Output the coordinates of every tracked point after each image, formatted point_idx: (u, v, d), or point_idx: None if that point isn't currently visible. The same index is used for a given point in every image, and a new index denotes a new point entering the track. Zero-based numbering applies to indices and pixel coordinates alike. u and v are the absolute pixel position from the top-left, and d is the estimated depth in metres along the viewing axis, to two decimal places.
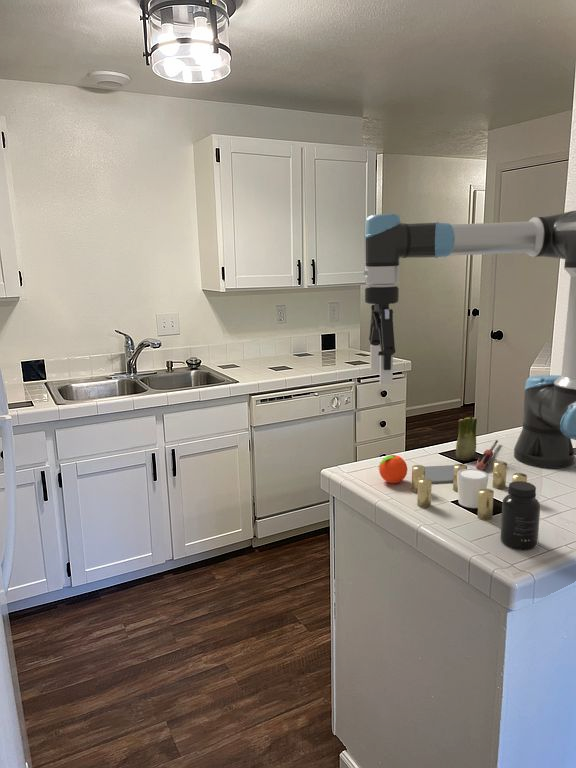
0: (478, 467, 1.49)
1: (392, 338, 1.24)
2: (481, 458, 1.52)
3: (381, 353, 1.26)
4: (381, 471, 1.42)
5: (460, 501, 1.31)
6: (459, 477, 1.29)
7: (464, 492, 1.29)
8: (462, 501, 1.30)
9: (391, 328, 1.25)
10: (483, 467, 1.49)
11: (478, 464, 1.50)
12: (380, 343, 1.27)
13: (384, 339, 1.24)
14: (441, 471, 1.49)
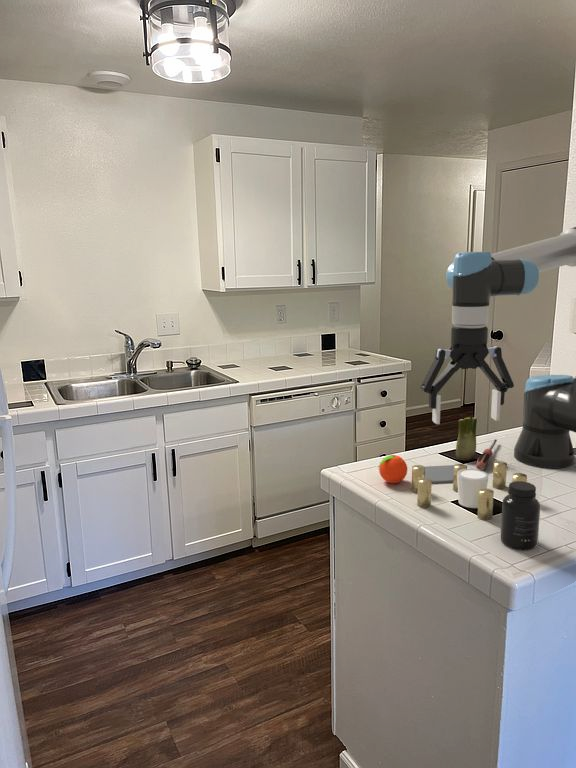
0: (478, 466, 1.49)
1: (429, 377, 1.24)
2: (481, 457, 1.52)
3: None
4: (381, 471, 1.42)
5: (460, 501, 1.31)
6: (459, 477, 1.29)
7: (464, 492, 1.29)
8: (462, 501, 1.30)
9: (434, 368, 1.24)
10: (483, 466, 1.49)
11: (478, 463, 1.50)
12: None
13: (426, 376, 1.26)
14: (441, 471, 1.49)
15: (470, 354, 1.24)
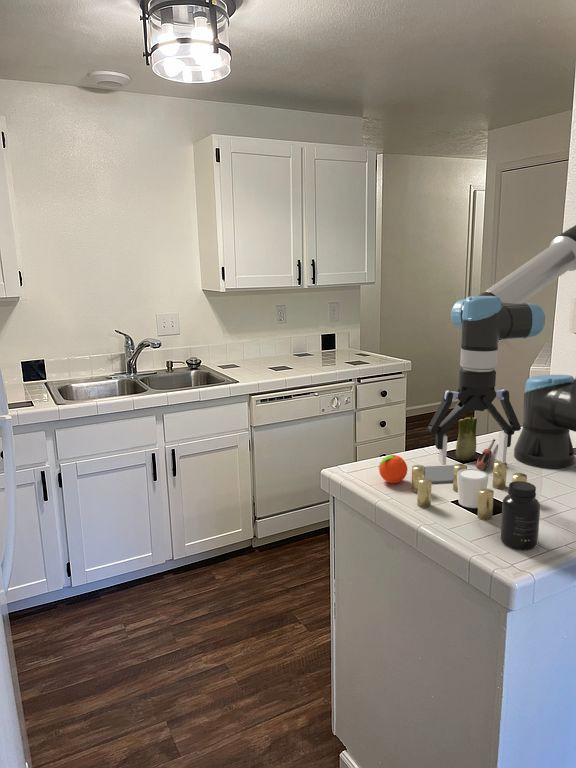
0: (478, 466, 1.49)
1: (436, 418, 1.25)
2: (481, 457, 1.52)
3: None
4: (381, 471, 1.42)
5: (460, 501, 1.31)
6: (459, 477, 1.29)
7: (464, 492, 1.29)
8: (462, 501, 1.30)
9: (441, 409, 1.25)
10: (483, 466, 1.49)
11: (478, 463, 1.50)
12: None
13: (433, 417, 1.27)
14: (441, 471, 1.49)
15: (478, 397, 1.25)
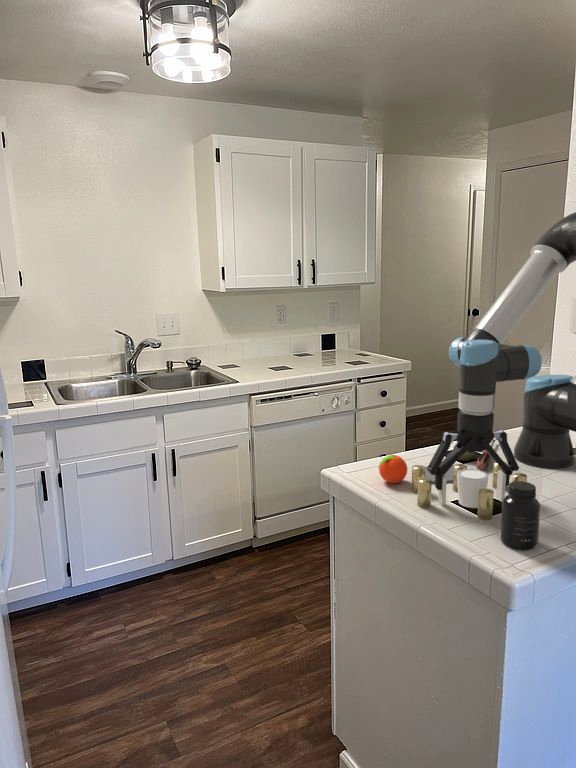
0: (478, 467, 1.49)
1: (435, 460, 1.28)
2: (481, 458, 1.52)
3: None
4: (381, 471, 1.42)
5: (460, 501, 1.31)
6: (459, 477, 1.29)
7: (464, 492, 1.29)
8: (462, 501, 1.30)
9: (440, 451, 1.27)
10: (483, 467, 1.49)
11: (478, 464, 1.50)
12: None
13: (432, 458, 1.29)
14: None
15: (476, 438, 1.27)
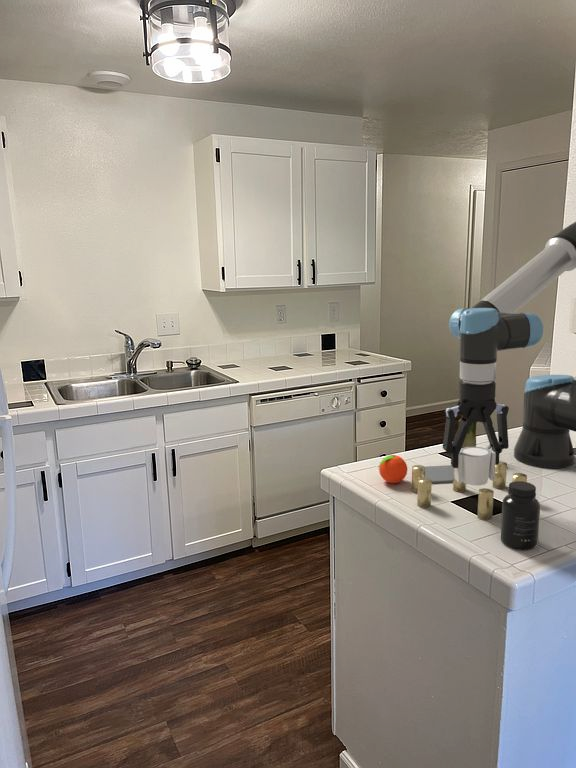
0: None
1: (447, 438, 1.27)
2: None
3: None
4: (381, 471, 1.42)
5: (463, 479, 1.30)
6: None
7: (467, 470, 1.28)
8: (465, 478, 1.29)
9: (448, 428, 1.26)
10: None
11: None
12: None
13: (444, 436, 1.29)
14: (441, 471, 1.49)
15: (478, 408, 1.26)
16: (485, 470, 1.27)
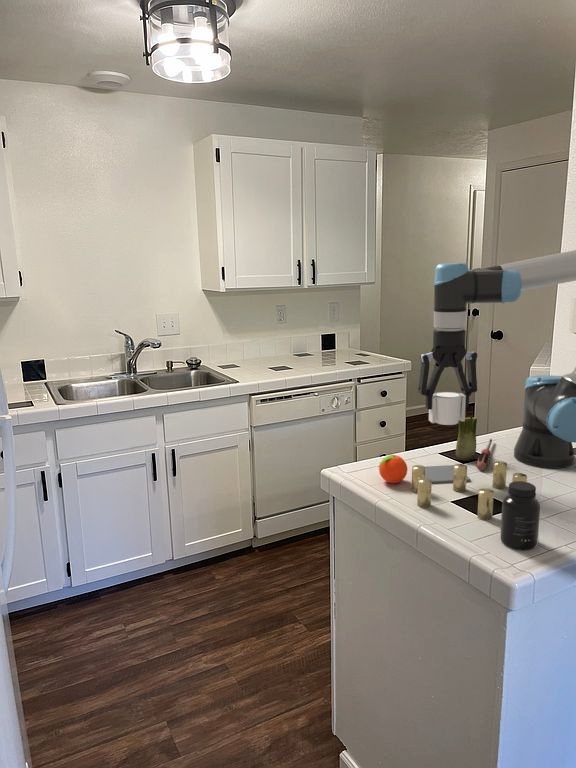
0: (479, 467, 1.49)
1: (422, 381, 1.40)
2: (481, 457, 1.52)
3: None
4: (381, 471, 1.42)
5: (436, 420, 1.43)
6: None
7: (440, 410, 1.41)
8: (438, 419, 1.42)
9: (423, 372, 1.40)
10: (484, 466, 1.49)
11: (479, 464, 1.50)
12: None
13: (419, 381, 1.42)
14: (441, 471, 1.49)
15: (450, 354, 1.39)
16: (456, 411, 1.40)
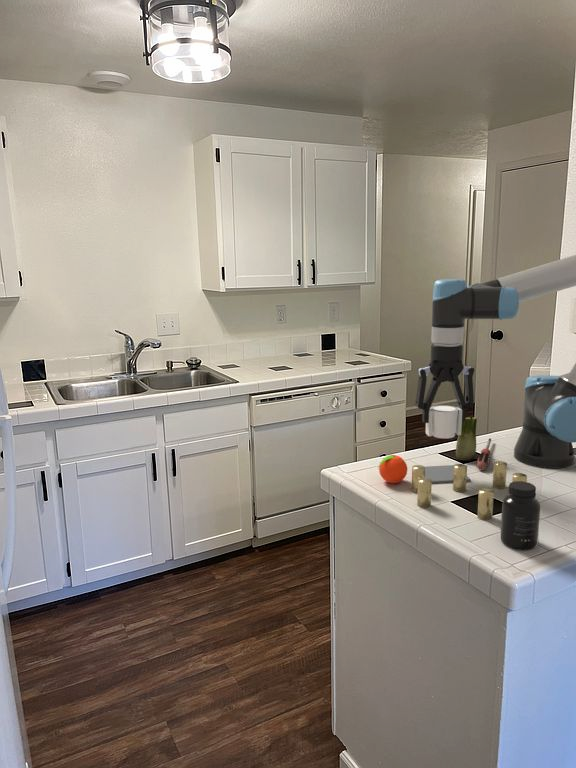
0: (479, 466, 1.49)
1: (419, 395, 1.42)
2: (481, 457, 1.52)
3: None
4: (381, 471, 1.42)
5: (433, 433, 1.45)
6: None
7: (436, 424, 1.43)
8: (435, 432, 1.44)
9: (420, 386, 1.42)
10: (484, 466, 1.49)
11: (479, 463, 1.50)
12: None
13: None
14: (441, 471, 1.49)
15: (447, 369, 1.41)
16: (452, 424, 1.42)
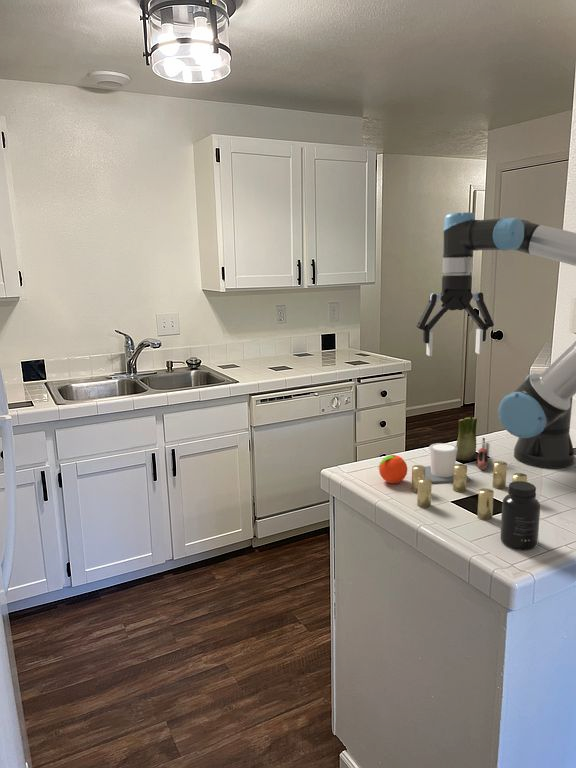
0: (481, 466, 1.50)
1: (423, 317, 1.52)
2: (481, 457, 1.53)
3: None
4: (381, 471, 1.42)
5: (432, 471, 1.47)
6: (431, 450, 1.46)
7: (435, 463, 1.45)
8: (434, 470, 1.46)
9: (427, 309, 1.52)
10: (485, 466, 1.50)
11: (480, 463, 1.50)
12: None
13: (421, 316, 1.54)
14: None
15: (457, 298, 1.51)
16: (451, 463, 1.44)
